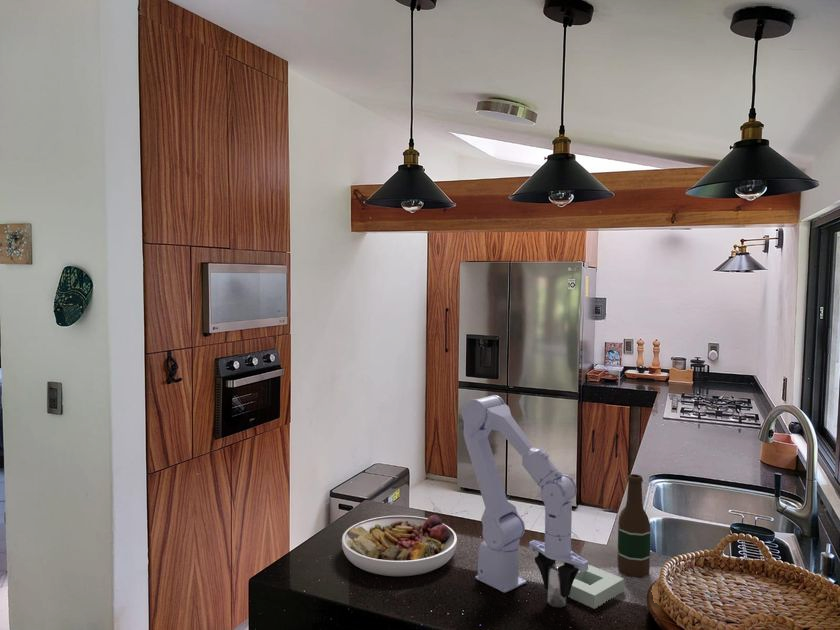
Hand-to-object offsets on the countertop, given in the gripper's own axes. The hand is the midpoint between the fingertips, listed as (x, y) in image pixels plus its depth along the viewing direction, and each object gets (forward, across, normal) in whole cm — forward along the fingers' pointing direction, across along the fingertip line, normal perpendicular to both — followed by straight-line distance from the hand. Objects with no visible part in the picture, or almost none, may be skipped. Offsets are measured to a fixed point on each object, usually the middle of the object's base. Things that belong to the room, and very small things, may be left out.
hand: (557, 591), depth 136 cm
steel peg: (+2, 0, 0) cm, 2 cm away
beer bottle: (+3, -3, -27) cm, 27 cm away
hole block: (+2, -1, -10) cm, 10 cm away
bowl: (+3, +42, +11) cm, 44 cm away
